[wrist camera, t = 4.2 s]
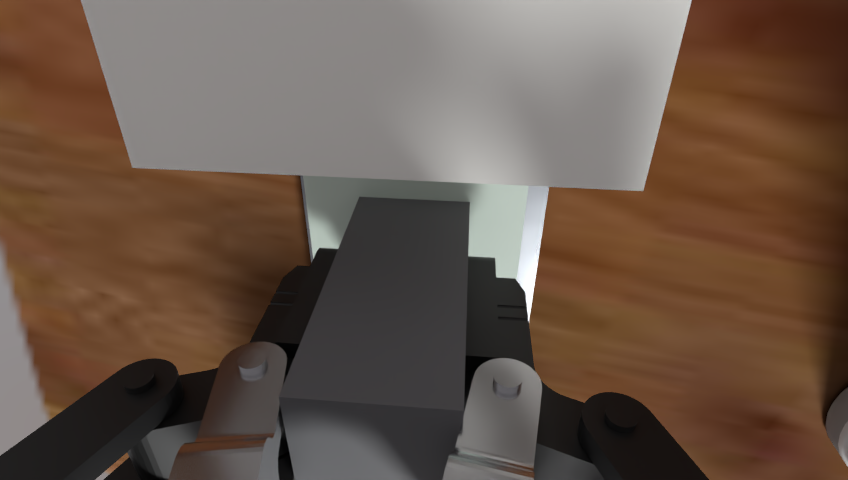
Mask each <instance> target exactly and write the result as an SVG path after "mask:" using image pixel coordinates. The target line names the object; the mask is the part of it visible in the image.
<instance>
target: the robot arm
mask: <svg viewBox="0 0 848 480" xmlns="http://www.w3.org/2000/svg"><path fill="white" fill-rule="evenodd" d="M337 251H338V249H334V248H319V249H318V250H317V252H316V254H315V256H314V259H313V261H312V263H311V265H310V266H297V267H295V268H294V269H293V270H292V271H290V272H289V273H288V274H287V275H286V276H284V277H283V279H282V281H281V283H280V285H279V287H278V289H277V291H276V294H274V296H273V298H272V300H271V304H270V305H269V306H268V308H267V310H266V312H265V314H264V316H263V318H262V319H261V321H260V323H259V325H258V327H257V329H256V331H255V333H254V335H253V337H252V339H251V341H250V343H248V344H245V345H242V346H240V347H237V348H236V349H234V350H232V351H231V352H230V353H228V354H227V355H226V356H225V357H224V358H223V360H222V361H221V363H220V365H219V367H218V368H215V369H212V370H207V371H202V372H196V373H190V374H185V375H179V374H178V371H177V369H176V367H175V366H174V365H173V364H172V363H171V362H169V361H167V360H163V359H146V360H141V361H138V362H135V363H132V364H130V365H128V366H126V367H124V368H122V369H121V370H119V371H118V372H116V373H115V374H113V375H112V376H111V377H109V378H108V379H107V380H105V381H104V382H102V383H101V384H100V385H98V386H97V387H95V388H94V389H93V390H91V391H90V392H88V393H87V394H86V395H84V396H83V397H81V398H80V399H79V400H77V401H76V402H75V403H73V404H72V405H70V406H69V407H68V408H66V409H65V410H63V411H62V412H61V413H59V414H58V415H56V416H55V417H54V418H52V419H51V420H49V421H48V422H47V423H45V424H44V425H43V426H41V427H40V428H38V429H37V430H36V431H34V432H33V433H31V434H30V435H29V436H27V437H26V438H24V439H23V440H22V441H20V442H19V443H18V444H16V445H15V446H13V447H12V448H11V449H9V450H8V451H6V452H5V453H4V454H2V455H1V456H0V480H95V479H96V478H97V477H98V476H100V475H101V474H102V473H103V472H104V471H105V470H107V469H108V468H109V467H110V466H111V465H112V464H114V463H115V462H116V461H117V460H118V459H119V458H121V457H122V456H123V455H124V454H125V453H126V452H127V453H128V455H129V458H128V459H127V460H126V461H125V462H123V463H122V464H121V465H120V466H119V467H118V468H116V469H115V470H114V471H113V472H112V473H111V474H110V475H108V476H107V477H106V478H105V479H104V480H295V478H294V473H293V468H292V463H291V458H290V453H289V448H288V443H287V438H286V433H285V427H284V422H283V417H282V412H281V407H280V402H279V394H280V392H281V389H282V387H283V384H284V382H285V379H286V377H287V375H288V372H289V370H290V367H291V365H292V362H293V360H294V357H295V355H296V352H297V350H298V347H299V345H300V342H301V340H302V337H303V335H304V332H305V330H306V327H307V325H308V323H309V320H310V318H311V315H312V313H313V310H314V308H315V305H316V303H317V300H318V298H319V295H320V293H321V290H322V288H323V285H324V283H325V280H326V278H327V275H328V273H329V271H330V268H331V266H332V263H333V261H334V258H335V256H336V253H337ZM442 480H709V479H708V478H707V477H706V476H705V474H704V473H703V472H702V471H701V470H700V469H699V467H698V466H697V465H696V464H695V463H694V462H693V460H692V459H691V458H690V457H689V456H688V455H687V453H686V452H685V451H684V450H683V449H682V448H681V446H680V445H679V444H678V443H677V442H676V441H675V439H674V438H673V437H672V436H671V435H670V434H669V433H668V431H667V430H666V429H665V428H664V427H663V426H662V424H661V423H660V422H659V421H658V420H657V419H656V417H655V416H654V415H653V414H652V413H651V412H650V411H649V410H648V409H647V407H645V406H644V405H643V404H642V403H640V402H639V401H637V400H635V399H633V398H631V397H629V396H626V395H623V394H619V393H613V392H604V393H599V394H596V395H593V396H592V397H590V398H589V399H588V400H587V401H586V402H585V403H583V402H580V401H577V400H574V399H571V398H568V397H565V396H563V395H560V394H558V393H556V392H555V391H553V390H552V389H550V388H549V387H547V386H546V385H545V384H544V383H543V382H542V381H541V380H540V378H539V376H538V374H537V373H536V371H535V368H534V363H533V354H532V346H531V338H530V329H529V321H528V312H527V304H526V295H525V291H524V290H523V288H522V287H521V286H520V284H519V283H518V282H517V280H516V279H515V278H497V277H496V264H495V258H492V257H474V256H468V284H467V319H466V355H465V391H464V417H463V424H461V427H460V431H459V435H458V438H457V442H456V446H455V450H454V452H451V453H450V455H449V457H448V461H447V464H446V468H445V471H444V475H443V479H442Z"/></svg>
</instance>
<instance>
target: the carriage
mask: <svg viewBox="0 0 848 480" xmlns="http://www.w3.org/2000/svg"><path fill="white" fill-rule="evenodd" d="M303 180H304V188H305V196H306V204H307V212H308V221H309V229H310V237H311V245H312V253H313V259H314V256H315V254H316V252H317V250H318V249H319V248H334V249H338V251H337V253H336V256H335V258H334V261H333V263H332V266H331V268H330V271H329V273H328V275H327V278H326V280H325V283H324V285H323V288H322V290H321V293H320V295H319V298H318V300H317V303H316V305H315V308H314V310H313V313H312V315H311V318H310V320H309V323H308V325H307V327H306V330H305V332H304V335H303V337H302V340H301V342H300V345H299V347H298V350H297V352H296V355H295V357H294V360H293V362H292V365H291V367H290V370H289V372H288V375H287V377H286V379H285V382H284V384H283V387H282V389H281V392H280V394H279V402H280V407H281V412H282V417H283V422H284V427H285V433H286V438H287V443H288V448H289V453H290V458H291V463H292V468H293V473H294V478H295V480H442V479H443V475H444V471H445V468H446V464H447V461H448V457H449V455H450V453H451V452H454V450H455V446H456V442H457V438H458V435H459V431H460V427H461V424H463V417H464V391H465V355H466V319H467V284H468V256H474V257H492V258H495V264H496V277H497V278H515V279H516V280H517V274H518V266H519V258H520V250H521V242H522V234H523V226H524V218H525V210H526V202H527V194H528V186H523V185H501V184H479V183H457V182H435V181H413V180H391V179H369V178H347V177H325V176H303Z"/></svg>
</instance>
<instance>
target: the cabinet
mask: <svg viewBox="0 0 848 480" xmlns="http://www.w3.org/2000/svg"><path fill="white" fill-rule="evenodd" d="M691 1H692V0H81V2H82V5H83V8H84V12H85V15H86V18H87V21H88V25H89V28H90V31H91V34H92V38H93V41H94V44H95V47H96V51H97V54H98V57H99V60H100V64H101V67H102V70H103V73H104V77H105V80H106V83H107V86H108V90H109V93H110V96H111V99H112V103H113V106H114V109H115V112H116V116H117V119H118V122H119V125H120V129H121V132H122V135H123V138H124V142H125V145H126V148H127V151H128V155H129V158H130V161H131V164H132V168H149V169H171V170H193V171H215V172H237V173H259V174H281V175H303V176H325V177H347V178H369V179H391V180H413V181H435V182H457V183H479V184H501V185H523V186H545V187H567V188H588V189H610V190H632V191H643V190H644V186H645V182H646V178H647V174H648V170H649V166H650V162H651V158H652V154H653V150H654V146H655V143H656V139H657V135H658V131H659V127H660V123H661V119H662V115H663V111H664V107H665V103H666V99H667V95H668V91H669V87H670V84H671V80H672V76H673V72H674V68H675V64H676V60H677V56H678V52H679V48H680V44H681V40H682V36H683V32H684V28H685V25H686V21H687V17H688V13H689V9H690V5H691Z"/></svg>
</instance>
